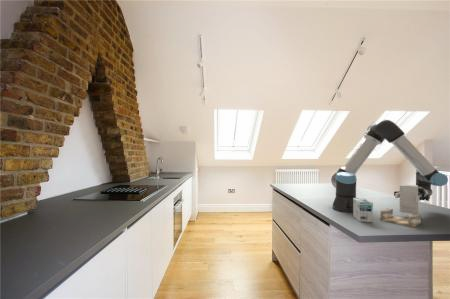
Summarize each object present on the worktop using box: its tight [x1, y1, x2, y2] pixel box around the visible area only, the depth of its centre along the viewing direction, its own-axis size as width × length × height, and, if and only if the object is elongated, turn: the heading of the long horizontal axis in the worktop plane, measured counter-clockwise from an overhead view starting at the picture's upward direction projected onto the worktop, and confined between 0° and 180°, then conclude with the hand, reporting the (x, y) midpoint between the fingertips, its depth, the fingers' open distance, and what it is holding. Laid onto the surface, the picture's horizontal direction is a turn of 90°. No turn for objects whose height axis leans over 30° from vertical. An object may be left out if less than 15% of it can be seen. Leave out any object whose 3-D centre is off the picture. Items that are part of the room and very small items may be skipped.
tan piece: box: [379, 207, 422, 228], centre depth 125 cm, size 15×12×5 cm
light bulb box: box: [352, 197, 374, 223], centre depth 128 cm, size 11×7×11 cm, turn 168°
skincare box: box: [399, 183, 419, 215], centre depth 132 cm, size 8×7×16 cm
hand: (406, 197), depth 130 cm, fingers closed on skincare box, 9 cm apart
